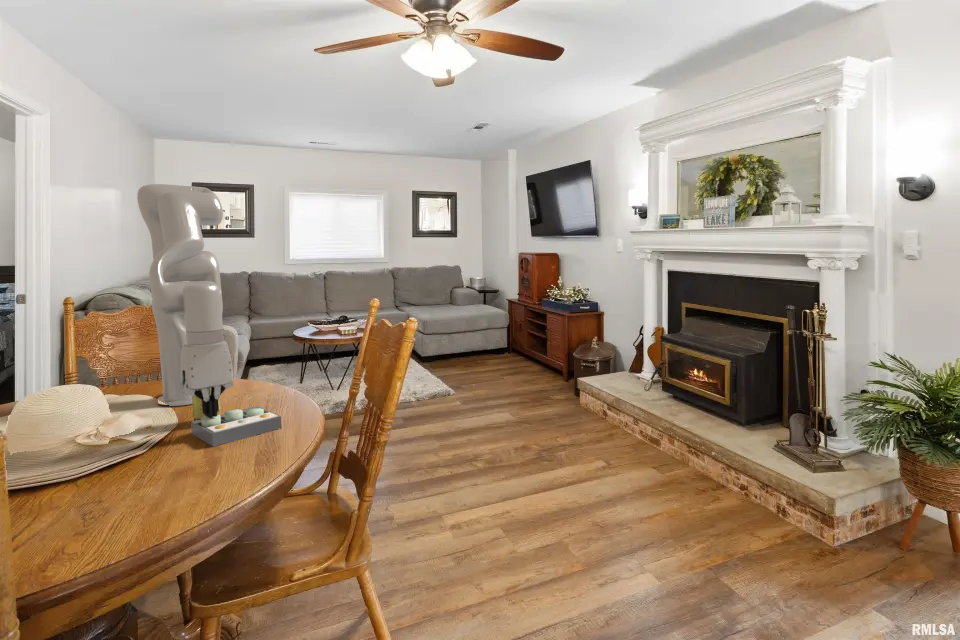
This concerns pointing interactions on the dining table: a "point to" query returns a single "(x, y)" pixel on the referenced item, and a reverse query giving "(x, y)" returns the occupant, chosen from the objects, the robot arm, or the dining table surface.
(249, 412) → the end button
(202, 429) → the button board
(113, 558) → the dining table surface
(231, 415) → the middle button
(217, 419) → the end button
